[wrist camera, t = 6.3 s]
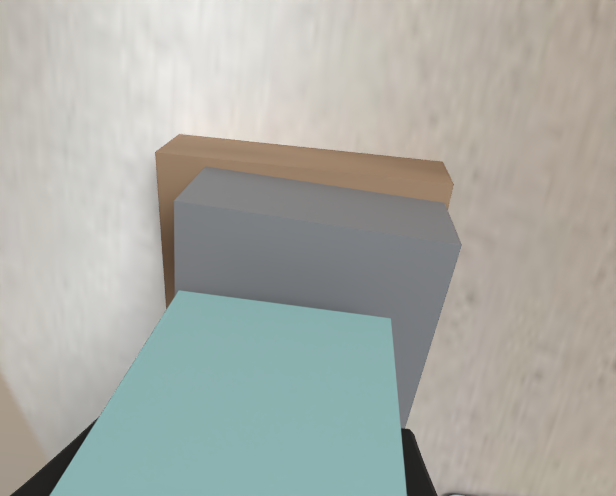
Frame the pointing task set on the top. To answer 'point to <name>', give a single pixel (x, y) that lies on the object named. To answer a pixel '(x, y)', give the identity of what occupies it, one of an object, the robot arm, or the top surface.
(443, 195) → the walnut block
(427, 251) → the gray block
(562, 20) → the top surface
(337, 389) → the teal block
